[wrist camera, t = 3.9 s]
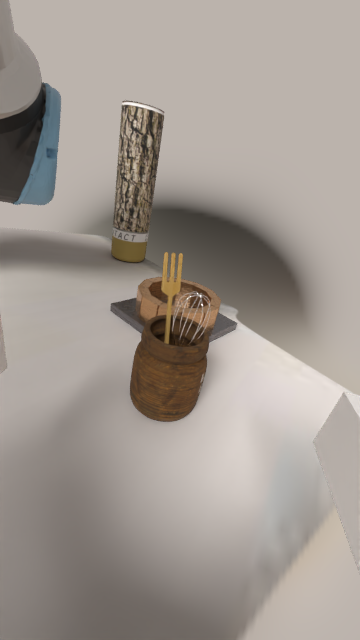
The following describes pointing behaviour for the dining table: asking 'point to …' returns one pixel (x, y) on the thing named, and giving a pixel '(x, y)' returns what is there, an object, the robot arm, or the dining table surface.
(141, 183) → the paper tube
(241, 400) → the dining table surface
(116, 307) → the collar plate
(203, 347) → the utensil holder
